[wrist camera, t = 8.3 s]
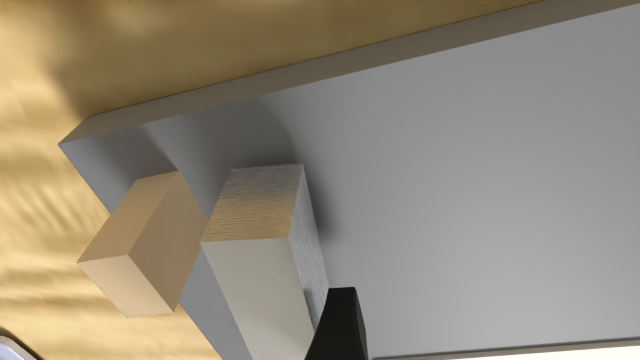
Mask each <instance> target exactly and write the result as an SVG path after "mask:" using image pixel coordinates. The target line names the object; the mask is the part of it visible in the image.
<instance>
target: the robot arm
mask: <svg viewBox="0 0 640 360" xmlns="http://www.w3.org/2000/svg"><path fill="white" fill-rule="evenodd" d="M0 360H36V359H35V358H34V357H33V356H31V355H30V354H29V353H28V352H26V351H25V350H24V349H23V348H22V347H20V346H19V345H18V344H17V343H15V342H14V341H13V340H11V339H10V338H7V337H4V336H0ZM304 360H369V358H368V350H367V339H366V329H365V324H364V320H363V316H362V312H361V307H360V303H359V299H358V295H357V290H356V289H355V287H340V288H328V293H327V297H326V302H325V305H324V309H323V312H322V315H321V318H320V321H319V324H318V326H317V329H316V332H315V334H314V337H313V340H312V342H311V345H310V347H309V349H308V352H307V354H306V357H305V359H304Z"/></svg>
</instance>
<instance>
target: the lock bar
mask: <svg viewBox="0 0 640 360" xmlns="http://www.w3.org/2000/svg"><path fill="white" fill-rule="evenodd" d="M200 244H201V246H202V249H203V251H204V253H205V255H206V257H207V260H208V262H209V264H210V266H211V268H212V271H213V273H214V275H215V277H216V279H217V282H218V284H219V286H220V288H221V290H222V293H223V295H224V297H225V299H226V301H227V304H228V306H229V308H230V310H231V312H232V315H233V317H234V319H235V321H236V323H237V326H238V328H239V330H240V332H241V334H242V337H243V339H244V341H245V343H246V346H247V348H248V350H249V352H250V354H251V357H252V359H253V360H304V359H305V357H306V354H307V352H308V349H309V347H310V345H311V342H312V340H313V337H314V334H315V332H316V329H317V326H318V324H319V321H320V318H321V315H322V312H323V309H324V305H325V302H326V297H327V293H328V288H329V283H328V279H327V274H326V269H325V264H324V260H323V255H322V250H321V246H320V241H319V236H318V231H317V227H316V222H315V217H314V212H313V208H312V203H311V198H310V193H309V189H308V184H307V179H306V174H305V170H304V165H303V163H300V164H287V165H275V166H262V167H250V168H237V169H231V171H230V174H229V176H228V178H227V180H226V183H225V185H224V187H223V190H222V192H221V194H220V196H219V199H218V201H217V203H216V206H215V208H214V210H213V213H212V215H211V217H210V219H209V222H208V224H207V226H206V229H205V231H204V233H203V236H202V238H201V240H200Z"/></svg>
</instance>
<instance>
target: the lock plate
mask: <svg viewBox="0 0 640 360" xmlns="http://www.w3.org/2000/svg"><path fill="white" fill-rule="evenodd" d="M57 145H58V146H59V147H60V149H61V150H62V151H63V153H64V154H65V155H66V156H67V158H68V159H69V160H70V162H71V163H72V164H73V166H74V167H75V168H76V169H77V171H78V172H79V173H80V175H81V176H82V177H83V179H84V180H85V181H86V182H87V184H88V185H89V186H90V188H91V189H92V190H93V192H94V193H95V194H96V195H97V197H98V198H99V199H100V201H101V202H102V203H103V205H104V206H105V207H106V208H107V210H108V211H109V212H110V214H111V215H110V217H109V218H108V220H107V221H106V222H105V224H104V225H103V226H102V228H101V229H100V231H99V232H98V233H97V235H96V236H95V237H94V239H93V240H92V242H91V243H90V244H89V246H88V247H87V248H86V250H85V251H84V253H83V254H82V255H81V257H80V258H79V259H78V261H77V262H76V263H77V265H78V266H79V267H80V268H81V269H82V270H83V271H84V272H85V273H86V274H87V275H88V277H89V278H90V279H91V280H92V281H93V282H94V283H95V284H96V285H97V286H98V287H99V289H100V290H101V291H102V292H103V293H104V294H105V295H106V296H107V297H108V298H109V299H110V301H111V302H112V303H113V304H114V305H115V306H116V307H117V308H118V309H119V310H120V311H121V313H122V314H123V315H124V316H125V317H126V318H131V317H140V316H148V315H157V314H165V313H174V310H175V308H176V306H177V303H178V302H179V303H180V305H181V306H182V307H183V309H184V310H185V311H186V313H187V314H188V315H189V316H190V318H191V319H192V320H193V322H194V323H195V324H196V326H197V327H198V328H199V329H200V331H201V332H202V333H203V335H204V336H205V337H206V339H207V340H208V341H209V342H210V344H211V345H212V346H213V348H214V349H215V350H216V352H217V353H218V354H219V355H220V357H221V358H222V359H223V360H253V359H252V357H251V354H250V352H249V350H248V348H247V346H246V343H245V341H244V339H243V337H242V334H241V332H240V330H239V328H238V326H237V323H236V321H235V319H234V317H233V315H232V312H231V310H230V308H229V306H228V304H227V301H226V299H225V297H224V295H223V293H222V290H221V288H220V286H219V284H218V282H217V279H216V277H215V275H214V273H213V271H212V268H211V266H210V264H209V262H208V260H207V257H206V255H205V253H204V251H203V249H202V246H201V244H200V240H201V238H202V236H203V233H204V231H205V229H206V226H207V224H208V222H209V219H210V217H211V215H212V213H213V210H214V208H215V206H216V203H217V201H218V199H219V196H220V194H221V192H222V190H223V187H224V185H225V183H226V180H227V178H228V176H229V174H230V171H231V169H237V168H250V167H262V166H275V165H287V164H300V163H303V165H304V170H305V174H306V179H307V184H308V189H309V193H310V198H311V203H312V208H313V212H314V217H315V222H316V227H317V231H318V236H319V241H320V246H321V250H322V255H323V260H324V264H325V269H326V274H327V279H328V283H329V288H340V287H355V289H356V290H357V295H358V299H359V303H360V307H361V312H362V316H363V320H364V324H365V329H366V339H367V350H368V358H369V360H640V0H543V1H539V2H535V3H531V4H527V5H523V6H519V7H515V8H511V9H508V10H504V11H500V12H496V13H492V14H488V15H484V16H480V17H476V18H472V19H468V20H465V21H461V22H457V23H453V24H449V25H445V26H441V27H437V28H433V29H429V30H426V31H422V32H418V33H414V34H410V35H406V36H402V37H398V38H394V39H390V40H386V41H383V42H379V43H375V44H371V45H367V46H363V47H359V48H355V49H351V50H347V51H343V52H340V53H336V54H332V55H328V56H324V57H320V58H316V59H312V60H308V61H304V62H301V63H297V64H293V65H289V66H285V67H281V68H277V69H273V70H269V71H265V72H261V73H258V74H254V75H250V76H246V77H242V78H238V79H234V80H230V81H226V82H222V83H219V84H215V85H211V86H207V87H203V88H199V89H195V90H191V91H187V92H183V93H179V94H176V95H172V96H168V97H164V98H160V99H156V100H152V101H148V102H144V103H140V104H137V105H133V106H129V107H125V108H121V109H117V110H113V111H109V112H105V113H101V114H97V115H94V116H90V117H87V118H86V119H85V120H84V121H83V122H82V123H81V124H79V125H78V126H77V127H76V128H75V129H74V130H73V131H72V132H71V133H69V134H68V135H67V136H66V137H65V138H64V139H63V140H62V141H61V142H59V143H58V144H57Z"/></svg>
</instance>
